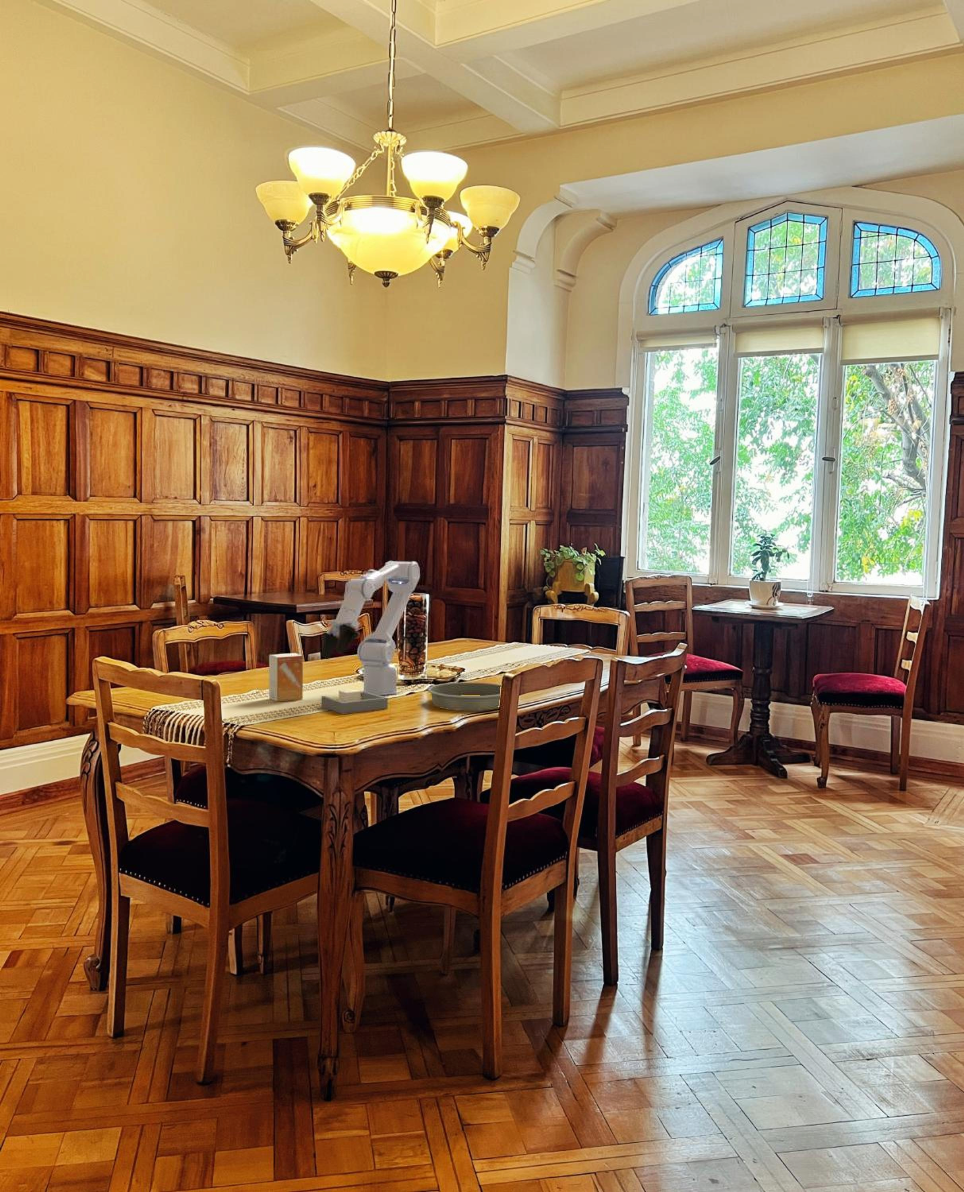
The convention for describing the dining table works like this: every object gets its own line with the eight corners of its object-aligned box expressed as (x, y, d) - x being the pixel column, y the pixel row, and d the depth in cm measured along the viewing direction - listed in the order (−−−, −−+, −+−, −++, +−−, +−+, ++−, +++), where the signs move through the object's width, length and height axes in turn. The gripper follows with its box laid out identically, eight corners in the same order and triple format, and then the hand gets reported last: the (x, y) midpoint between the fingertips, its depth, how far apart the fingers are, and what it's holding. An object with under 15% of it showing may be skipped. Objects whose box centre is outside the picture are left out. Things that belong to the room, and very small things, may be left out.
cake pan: (530, 704, 290) (530, 689, 289) (467, 716, 273) (467, 699, 272) (472, 693, 307) (472, 678, 307) (409, 703, 291) (410, 687, 290)
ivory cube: (352, 704, 287) (352, 688, 287) (360, 707, 283) (360, 691, 283) (338, 706, 284) (338, 690, 284) (346, 708, 281) (346, 692, 280)
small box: (277, 702, 289) (276, 657, 288) (268, 698, 294) (268, 654, 293) (303, 699, 294) (303, 655, 293) (294, 696, 299) (294, 652, 298)
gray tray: (365, 701, 291) (365, 691, 291) (387, 708, 281) (387, 697, 280) (321, 706, 283) (321, 696, 282) (343, 714, 272) (342, 703, 272)
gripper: (324, 613, 292) (307, 652, 285) (351, 601, 281) (334, 641, 274) (343, 625, 295) (327, 665, 288) (370, 614, 284) (354, 654, 277)
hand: (331, 654), depth 281 cm, fingers open, 7 cm apart
